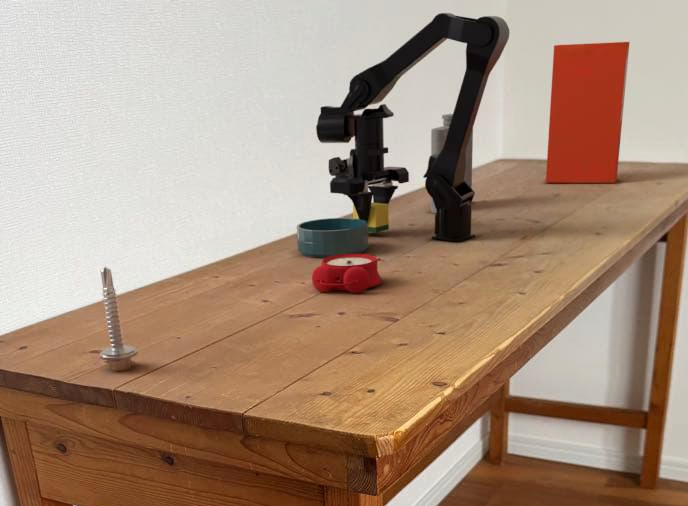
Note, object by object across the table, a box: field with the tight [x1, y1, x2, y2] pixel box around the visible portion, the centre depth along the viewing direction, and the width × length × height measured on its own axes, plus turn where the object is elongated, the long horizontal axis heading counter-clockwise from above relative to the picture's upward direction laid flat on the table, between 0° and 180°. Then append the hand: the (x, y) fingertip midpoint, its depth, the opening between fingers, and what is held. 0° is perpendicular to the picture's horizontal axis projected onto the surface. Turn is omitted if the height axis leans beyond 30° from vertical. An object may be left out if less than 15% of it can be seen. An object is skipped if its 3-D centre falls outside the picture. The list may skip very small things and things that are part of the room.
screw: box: [99, 266, 138, 372], centre depth 120 cm, size 13×5×5 cm
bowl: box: [296, 217, 370, 259], centre depth 182 cm, size 14×14×5 cm
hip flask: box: [430, 113, 474, 214], centre depth 216 cm, size 16×4×20 cm, turn 144°
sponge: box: [352, 202, 390, 234], centre depth 193 cm, size 6×4×5 cm
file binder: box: [545, 41, 630, 184], centre depth 239 cm, size 8×17×32 cm, turn 71°
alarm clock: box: [311, 253, 382, 294], centre depth 155 cm, size 10×6×15 cm
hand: (371, 224), depth 194 cm, fingers closed on sponge, 4 cm apart
